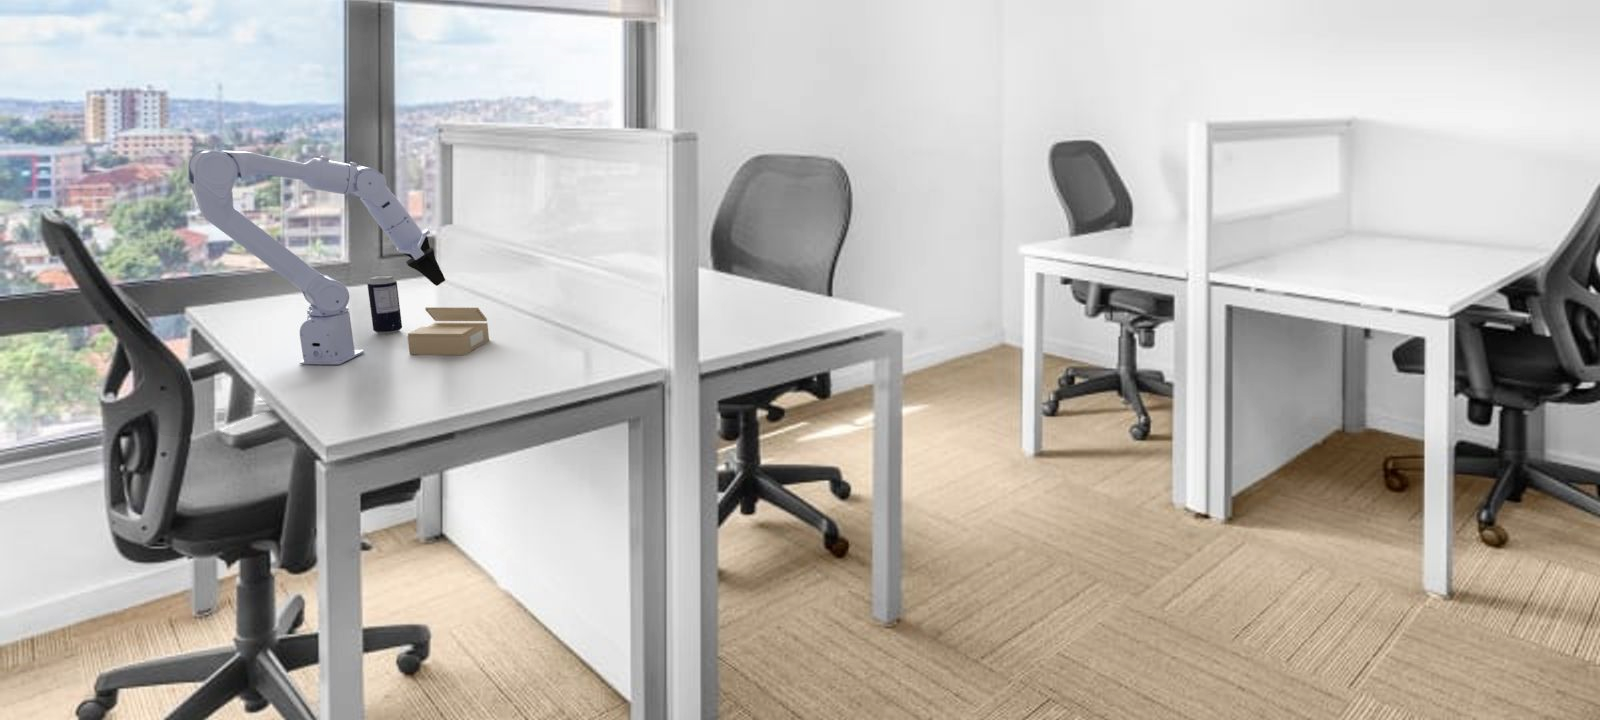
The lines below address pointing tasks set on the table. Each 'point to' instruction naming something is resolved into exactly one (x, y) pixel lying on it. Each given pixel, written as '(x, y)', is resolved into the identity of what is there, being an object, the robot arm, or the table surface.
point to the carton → (447, 338)
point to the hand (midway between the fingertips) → (438, 277)
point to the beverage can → (384, 304)
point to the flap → (456, 314)
